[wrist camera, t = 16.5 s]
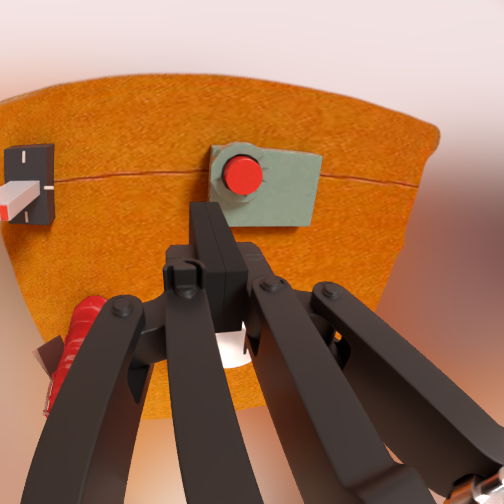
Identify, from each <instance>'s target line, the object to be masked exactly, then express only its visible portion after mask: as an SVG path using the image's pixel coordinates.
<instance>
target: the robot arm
mask: <svg viewBox="0 0 504 504" xmlns="http://www.w3.org/2000/svg"><path fill="white" fill-rule="evenodd" d="M163 280H164V292H163V294H161V295H160V296H159V297H158V298H156V299H154V300H151V301H148V302H145V303H142V302H141V300H140V299H138V298H137V297H135V296H131V295H119V296H115V297H112V298H111V299H109V300H107V301H106V303H105V304H104V305H103V306H102V308H101V310H100V312H99V313H98V315H97V317H96V319H95V320H94V322H93V324H92V326H91V328H90V329H89V331H88V333H87V335H86V337H85V339H84V341H83V343H82V344H81V346H80V348H79V350H78V352H77V354H76V356H75V358H74V360H73V362H72V364H71V366H70V368H69V370H68V372H67V375H66V377H65V379H64V381H63V383H62V385H61V388H60V390H59V392H58V394H57V397H56V399H55V401H54V403H53V406H52V408H51V411H50V413H49V415H48V418H47V420H46V423H45V426H44V428H43V431H42V434H41V436H40V439H39V442H38V445H37V447H36V451H35V453H34V456H33V459H32V463H31V466H30V469H29V472H28V476H27V479H26V483H25V487H24V490H23V494H22V499H21V503H20V504H123V503H124V497H125V491H126V485H127V480H128V474H129V469H130V464H131V459H132V454H133V450H134V445H135V440H136V435H137V431H138V427H139V423H140V419H141V414H142V410H143V406H144V402H145V398H146V394H147V390H148V387H149V383H150V379H151V375H152V372H153V368H154V363H156V362H159V361H162V360H165V359H167V366H168V379H169V390H170V400H171V410H172V418H173V426H174V433H175V441H176V447H177V454H178V460H179V466H180V471H181V476H182V482H183V487H184V492H185V497H186V501H187V504H264V503H263V500H262V497H261V494H260V491H259V488H258V485H257V482H256V479H255V476H254V473H253V470H252V467H251V464H250V460H249V457H248V454H247V451H246V447H245V444H244V441H243V437H242V434H241V431H240V427H239V424H238V420H237V416H236V413H235V409H234V406H233V402H232V398H231V394H230V391H229V387H228V383H227V379H226V375H225V371H224V367H223V363H222V359H221V355H220V351H219V347H218V343H217V339H216V334H215V333H226V332H237V331H242V324H243V322H244V325H245V328H246V332H245V339H244V347H243V355H244V354H246V353H247V348H248V351H249V354H250V357H251V360H252V363H253V366H254V369H255V372H256V375H257V378H258V381H259V384H260V387H261V390H262V392H263V395H264V398H265V401H266V404H267V407H268V409H269V412H270V415H271V418H272V420H273V423H274V426H275V428H276V431H277V434H278V437H279V440H280V442H281V445H282V447H283V450H284V453H285V455H286V458H287V460H288V463H289V466H290V468H291V471H292V474H293V476H294V478H295V481H296V484H297V486H298V489H299V491H300V494H301V496H302V499H303V501H304V504H436V502H435V500H434V498H433V496H432V495H431V493H430V491H429V489H431V490H432V491H434V492H435V493H437V494H438V495H441V496H443V497H445V498H446V500H445V501H444V503H443V504H504V427H502V426H500V425H498V424H497V423H496V422H495V421H494V420H493V419H492V418H491V417H490V416H489V415H488V414H487V413H486V412H485V411H484V410H483V409H482V408H481V407H479V405H478V404H476V403H475V402H474V401H473V400H472V399H471V398H470V397H469V396H468V395H467V394H466V393H465V392H464V391H463V390H461V389H460V388H459V387H458V386H457V385H456V384H455V383H454V382H453V381H452V380H451V379H449V378H448V377H447V376H446V375H445V374H444V373H443V372H442V371H441V370H439V369H438V368H437V367H436V366H435V365H434V364H433V363H432V362H430V361H429V360H428V359H427V358H426V357H425V356H424V355H423V354H421V353H420V352H419V351H418V350H417V349H416V348H415V347H413V346H412V345H411V344H410V343H409V342H408V341H407V340H405V339H404V338H403V337H402V336H401V335H400V334H398V333H397V332H396V331H395V330H394V329H392V328H391V327H390V326H389V325H388V324H387V323H386V322H384V321H383V320H382V319H381V318H380V317H378V316H377V315H376V314H375V313H374V312H373V311H371V310H370V309H369V308H368V307H367V306H365V305H364V304H363V303H362V302H361V301H359V300H358V299H357V298H356V297H355V296H353V295H352V294H351V293H350V292H348V291H347V290H346V289H345V288H343V287H342V286H340V285H338V284H336V283H333V282H326V281H325V282H319V283H317V284H315V286H314V287H313V290H312V292H306V291H298V290H293V289H292V287H291V286H290V284H289V283H288V282H287V281H286V280H285V279H283V278H281V277H279V276H275V275H274V273H273V271H272V270H271V268H270V266H269V264H268V263H267V261H266V260H265V257H264V256H263V255H262V252H261V250H260V249H259V247H257V246H256V245H255V244H253V243H252V242H236V241H235V239H234V236H233V234H232V232H231V230H230V227H229V225H228V223H227V221H226V218H225V216H224V214H223V212H222V209H221V207H220V205H219V203H218V202H190V206H189V245H171V246H170V247H169V248H168V249H167V251H166V264H165V265H164V268H163ZM336 331H337V332H338V333H339V334H340V335H341V336H342V338H341V340H338V339H337V338H335V337H334V336H335V334H336ZM384 444H385V445H386V446H387V447H388V448H389V449H390V450H391V451H392V452H393V453H394V454H395V455H396V456H397V457H398V459H399V460H400V461H401V462H402V463H403V464H399V463H397V462H395V461H394V460H393V459H392V457H391V456H390V454H389V452H388V450H387V449H386V447H385V445H384ZM428 488H429V489H428Z"/></svg>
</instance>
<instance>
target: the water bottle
mask: <svg viewBox="0 0 504 504" xmlns="http://www.w3.org/2000/svg"><path fill="white" fill-rule="evenodd" d="M106 301H107V299H106V298H103V297H100V296H98V295H97V296H88V297H86V298H85V299H84V300H82V301H81V302H80V303H79V304H78V305H77V306H76V307H75V309H74V312H73V315H72V318H71V322H70V327H69V331H68V335H66V336H65V341H64V343H63V341H62V338H61V336H60V335H59V336H57V337H56V338H54V339H52V340H50V341H49V342H47V343H45V344H44V345H42V346H41V347H39V348H37V349H36V350H34V351H32V353H33V354H34V356H35V357H36V359H37V360H38V362H39V363H40V365H41V366H42V367H43V369H44V370H45V372H46V373H47V374H48V376H49V377H50V384H49V388H48V393H47V397H46V402H45V410H43V412H44V413H43V415H45V416H46V417H47V418H48V415H49V413H50V411H51V408H52V406H53V403H54V401H55V399H56V397H57V394H58V392H59V390H60V388H61V385H62V383H63V381H64V379H65V377H66V375H67V372H68V370H69V368H70V366H71V364H72V362H73V360H74V358H75V356H76V354H77V352H78V350H79V348H80V346H81V344H82V343H83V341H84V339H85V337H86V335H87V333H88V331H89V329H90V328H91V326H92V324H93V322H94V320H95V319H96V317H97V315H98V313H99V312H100V310H101V308H102V306H103V305H104V304H105V303H106ZM66 340H67V342H66ZM53 380H54V381H53ZM52 382H53V386H52ZM51 386H52V391H51V396H49V394H50V390H51ZM48 400H50V403H49V408H48V410H47V405H48Z"/></svg>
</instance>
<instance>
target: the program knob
mask: <svg viewBox="0 0 504 504" xmlns="http://www.w3.org/2000/svg"><path fill="white" fill-rule="evenodd" d="M39 195H40V181H9V182H8V183H6V184H5V185H3V186H1V187H0V220H6V221H10V220H11V219H13V218H14V217H15V216H16V215H17V214H18V213H19V212H20V211H21V210H22V209H24V208H25V207H26V206H27V205H28V204H29V203H30V202H32V201H33V200H34V199H35V198H36V197H38V196H39Z"/></svg>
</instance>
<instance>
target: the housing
mask: <svg viewBox="0 0 504 504" xmlns="http://www.w3.org/2000/svg"><path fill="white" fill-rule="evenodd" d="M238 156H246V157H249V158H251V159H252V160H253V161H255V162H256V163H257V164H258V165H259V166H260V167H261V169H262V173H263V179H262V183H261V185H260V186H259V188H258V189H257V190H256V191H254V192H253V193H251V194H247V195H239V194H236V193H234V192H233V191H232V190H231V189H230V188H229V187H228V185H227V184H226V182H225V180H224V176H223V172H224V168H225V166H226V164H227V163H228V162H229V161H230V160H231V159H233V158H235V157H238ZM322 158H323V156H321V155H318V154H316V153H310V152H302V151H293V150H283V149H273V148H261V147H256V146H254V145H253V144H251V143H249V142H235V141H234V142H231V143H229V144H227V145H211V150H210V162H209V180H208V198H207V202H218V203H219V205H220V207H221V209H222V212H223V214H224V216H225V218H226V221H227V223H228V225H229V227H250V226H310V223H311V218H312V213H313V207H314V202H315V197H316V192H317V186H318V181H319V175H320V169H321V163H322Z"/></svg>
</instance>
